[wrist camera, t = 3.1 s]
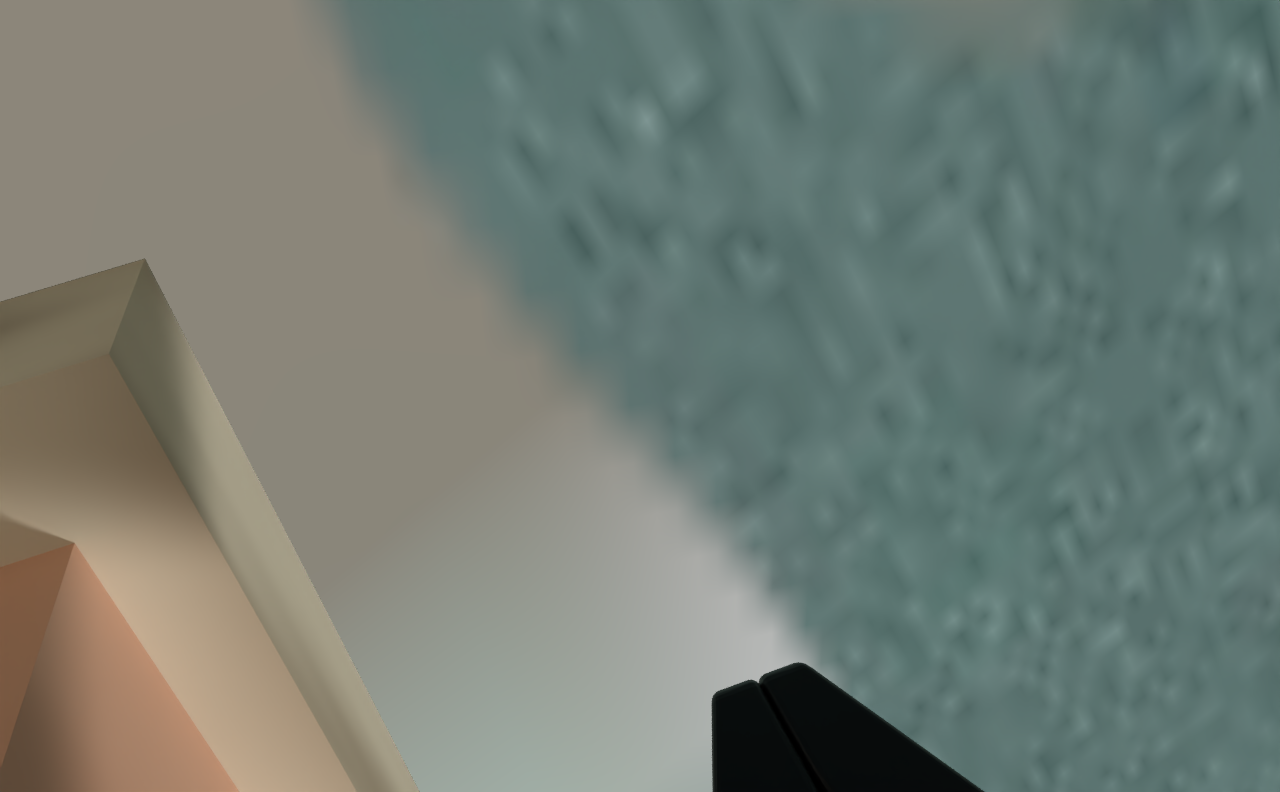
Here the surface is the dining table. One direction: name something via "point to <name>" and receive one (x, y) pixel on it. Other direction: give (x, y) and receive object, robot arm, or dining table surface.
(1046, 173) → the dining table surface
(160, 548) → the birch plate
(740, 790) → the robot arm
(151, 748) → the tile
